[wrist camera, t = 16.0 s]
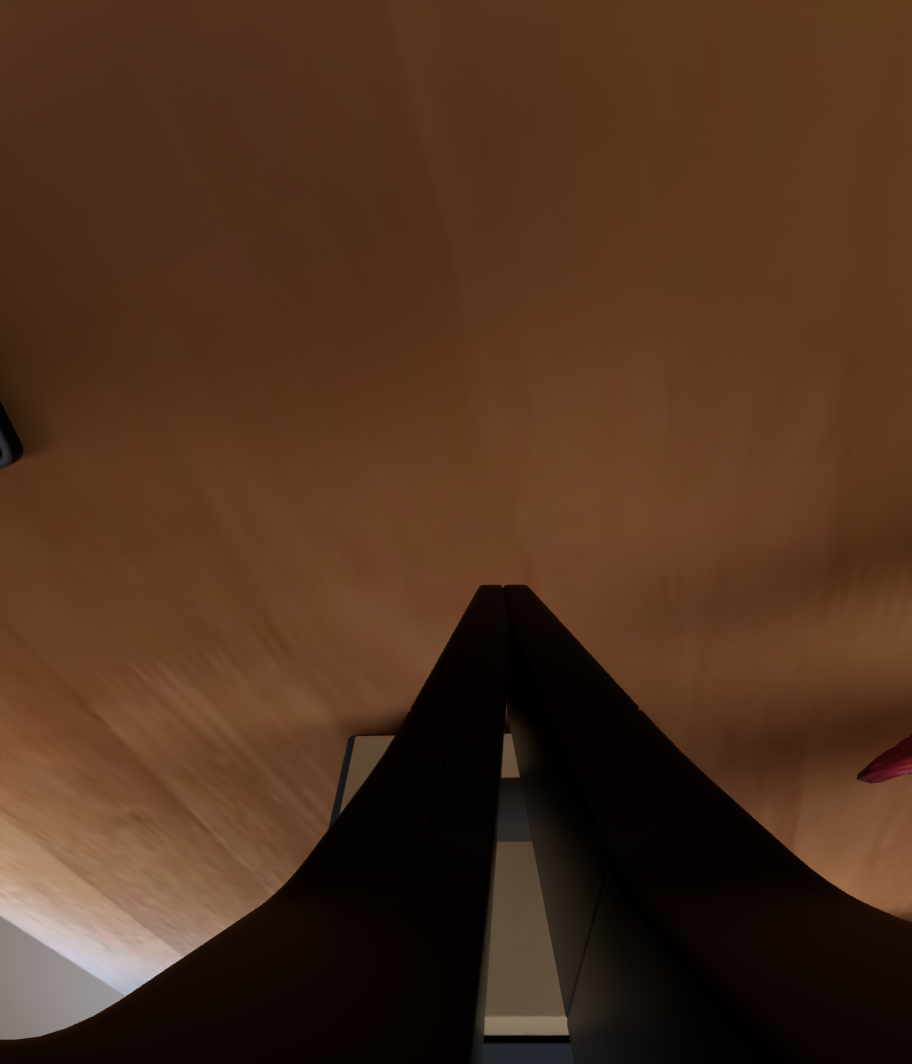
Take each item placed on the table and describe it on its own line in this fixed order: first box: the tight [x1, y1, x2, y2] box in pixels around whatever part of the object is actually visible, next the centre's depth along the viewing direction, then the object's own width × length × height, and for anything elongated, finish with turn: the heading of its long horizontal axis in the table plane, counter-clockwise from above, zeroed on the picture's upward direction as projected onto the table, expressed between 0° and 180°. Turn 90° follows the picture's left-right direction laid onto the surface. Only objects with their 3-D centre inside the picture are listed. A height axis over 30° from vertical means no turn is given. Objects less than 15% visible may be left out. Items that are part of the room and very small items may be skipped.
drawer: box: [339, 734, 570, 1043], centre depth 17 cm, size 15×10×8 cm
